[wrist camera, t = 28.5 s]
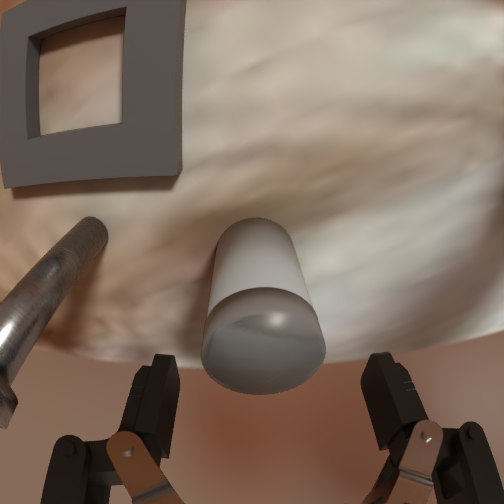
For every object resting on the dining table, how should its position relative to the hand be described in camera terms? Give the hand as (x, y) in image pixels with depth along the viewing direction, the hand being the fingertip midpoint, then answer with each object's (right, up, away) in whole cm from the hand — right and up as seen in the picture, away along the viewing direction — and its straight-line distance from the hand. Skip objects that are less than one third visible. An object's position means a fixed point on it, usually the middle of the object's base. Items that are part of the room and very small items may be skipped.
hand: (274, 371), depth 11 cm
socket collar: (-11, +15, +2) cm, 19 cm away
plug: (-1, +5, +8) cm, 10 cm away
